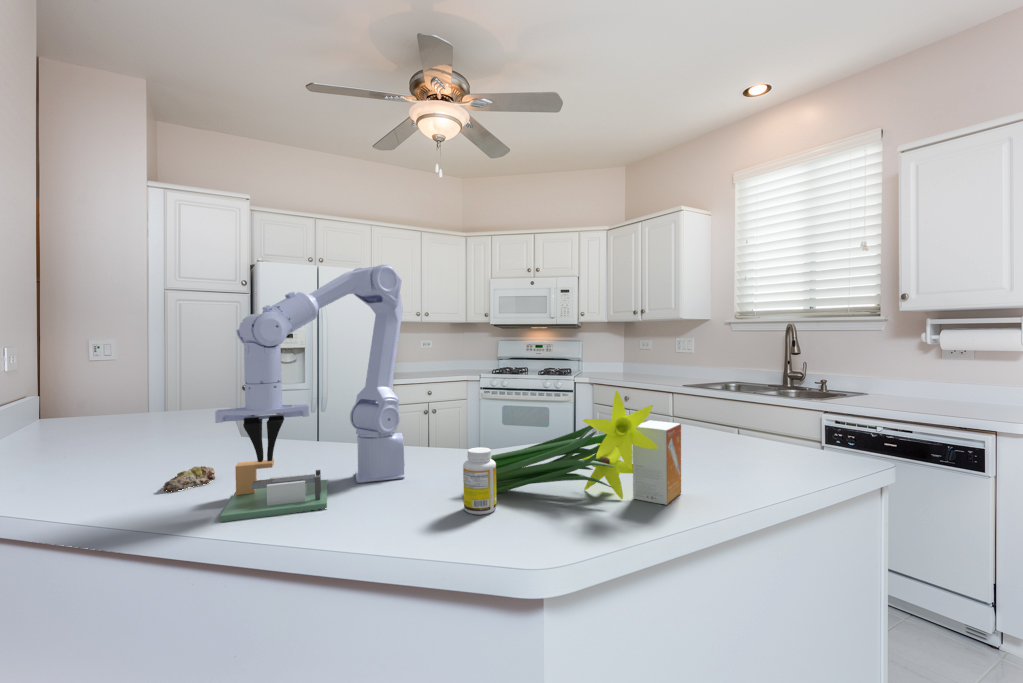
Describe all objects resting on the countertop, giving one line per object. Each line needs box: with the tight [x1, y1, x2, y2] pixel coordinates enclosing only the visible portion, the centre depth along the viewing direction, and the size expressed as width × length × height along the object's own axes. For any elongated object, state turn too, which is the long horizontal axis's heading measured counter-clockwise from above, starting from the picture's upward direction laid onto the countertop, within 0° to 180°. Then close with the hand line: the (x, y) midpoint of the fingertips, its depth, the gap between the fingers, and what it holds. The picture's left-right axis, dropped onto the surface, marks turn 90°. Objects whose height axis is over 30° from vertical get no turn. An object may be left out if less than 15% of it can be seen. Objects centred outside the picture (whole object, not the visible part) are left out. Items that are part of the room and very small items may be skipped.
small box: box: [632, 419, 682, 505], centre depth 90 cm, size 8×6×13 cm
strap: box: [251, 473, 320, 489], centre depth 88 cm, size 11×3×1 cm, turn 110°
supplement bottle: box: [462, 446, 498, 516], centre depth 84 cm, size 6×6×10 cm
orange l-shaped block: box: [235, 458, 275, 495], centre depth 92 cm, size 6×3×5 cm, turn 110°
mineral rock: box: [162, 466, 216, 493], centre depth 100 cm, size 11×4×8 cm
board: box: [219, 469, 329, 523], centre depth 90 cm, size 16×15×5 cm
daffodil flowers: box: [491, 389, 659, 500], centre depth 91 cm, size 17×15×35 cm
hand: (265, 460), depth 86 cm, fingers closed
